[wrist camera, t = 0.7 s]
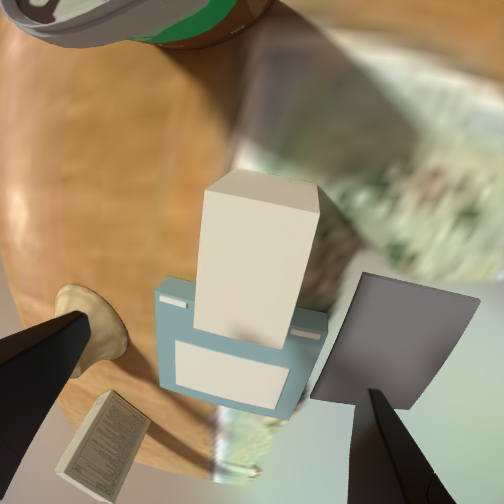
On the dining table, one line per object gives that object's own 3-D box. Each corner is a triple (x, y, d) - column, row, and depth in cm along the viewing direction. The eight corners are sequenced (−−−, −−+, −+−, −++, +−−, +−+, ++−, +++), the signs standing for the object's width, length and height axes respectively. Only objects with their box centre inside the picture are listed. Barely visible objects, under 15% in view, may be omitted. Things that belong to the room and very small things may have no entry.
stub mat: (478, 298, 17) (480, 301, 16) (408, 406, 22) (409, 409, 22) (362, 271, 18) (363, 274, 17) (310, 394, 23) (309, 398, 23)
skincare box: (98, 395, 30) (50, 470, 19) (112, 388, 29) (60, 471, 18) (137, 426, 32) (98, 502, 21) (155, 421, 30) (114, 505, 19)
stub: (317, 183, 16) (320, 214, 11) (290, 291, 19) (282, 350, 14) (236, 167, 17) (204, 189, 12) (221, 275, 20) (192, 328, 15)
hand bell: (130, 307, 23) (9, 467, 8) (127, 369, 26) (47, 499, 12) (54, 269, 23) (-71, 383, 9) (61, 333, 27) (-27, 438, 12)
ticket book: (327, 313, 19) (328, 334, 18) (291, 402, 24) (288, 421, 22) (167, 275, 20) (154, 291, 18) (168, 370, 25) (159, 387, 23)
